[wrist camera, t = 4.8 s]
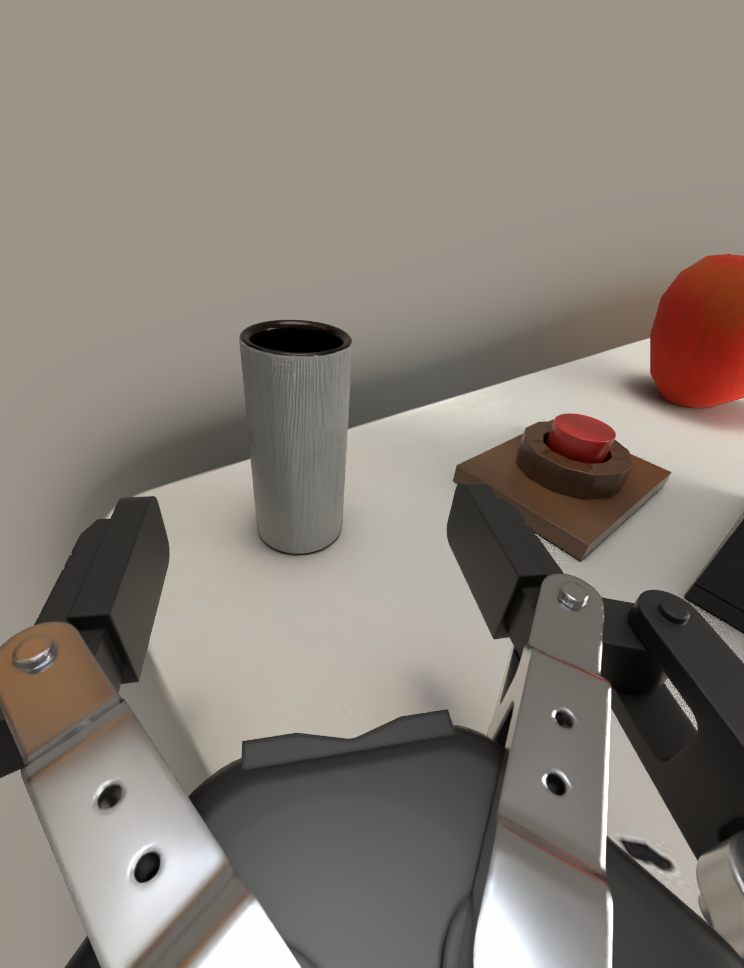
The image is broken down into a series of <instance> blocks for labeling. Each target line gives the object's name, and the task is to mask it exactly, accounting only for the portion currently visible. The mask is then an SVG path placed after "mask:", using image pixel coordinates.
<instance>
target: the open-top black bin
mask: <svg viewBox="0 0 744 968" xmlns="http://www.w3.org/2000/svg"><path fill="white" fill-rule="evenodd" d="M685 598H687V599H689V600H690V601H692V602H694V603H695V604H697V605H699V606H700V607H702V608H704V609H705V610H707V611H709V612H710V613H712V614H714V615H716V616H717V617H719V618H721V619H722V620H724V621H726V622H727V623H729V624H731V625H732V626H734V627H736V628H737V629H739V630H741V631H742V632H744V513H743V514H742V516H741V517H740V519H739V520H738V521H737V523H736V524H735V526H734V527H733V528H732V530H731V531H730V533H729V534H728V535H727V537H726V538H725V540H724V541H723V542H722V544H721V545H720V547H719V548H718V549H717V551H716V552H715V554H714V555H713V556H712V558H711V559H710V561H709V562H708V563H707V565H706V566H705V568H704V569H703V570H702V572H701V573H700V575H699V576H698V577H697V579H696V580H695V582H694V583H693V584H692V586H691V587H690V589H689V590H688V591H687V593H686V594H685Z"/></svg>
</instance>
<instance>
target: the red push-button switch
mask: <svg viewBox="0 0 744 968" xmlns="http://www.w3.org/2000/svg"><path fill="white" fill-rule="evenodd" d="M553 422H554V420H551V421H549V422H538V423H536V424H533V425H531V426H529V427H527V428H525V431H524V433H523V434H521V435H519V436H517V437H515V438H513V439H511V440H509V441H507V442H505V443H503V444H500V445H498V446H496V447H494V448H492V449H490V450H488V451H486V452H484V453H482V454H480V455H478V456H475V457H473V458H471V459H469V460H467V461H465V462H463V463H461V464H459V465H457V466H456V471H455V475H454V479H453V480H454V481H455V482H457V483H458V484H459V483H473V482H486V483H487V484H488V485H489V487H490V488H491V490H492V491H493V493H494V494H495V496H496V497H497V498H498V499H501V498H503V499H505V500H506V501H507V502H509V503H510V504H512V505H513V506H514V507H516V508H517V509H518V510H519V511H520V513H521V514H522V516H523V517H524V518H525V520H526V521H527V525H530V527H531V528H532V530H533V531H534V532H536V533H537V534H539V535H541V536H542V537H544V538H545V539H547V540H548V541H550V542H552V543H553V544H555V545H556V546H558V547H560V548H561V549H563V550H564V551H566V552H567V553H569V554H571V555H572V556H574V557H575V558H577V559H579V560H582V559H583V558H584V557H585V556H587V555H588V554H589V553H590V552H591V551H592V550H593V549H594V548H595V547H596V546H598V545H599V544H600V543H601V542H602V541H603V540H604V539H605V538H606V537H608V536H609V535H610V534H611V533H612V532H613V531H614V530H615V529H616V528H618V527H619V526H620V525H621V524H622V523H623V522H624V521H625V520H626V519H627V518H629V517H630V516H631V515H632V514H633V513H634V512H635V511H636V510H637V509H639V508H640V507H641V506H642V505H643V504H644V503H645V502H646V501H647V500H648V499H650V498H651V497H652V496H653V495H654V494H655V493H656V492H657V491H658V490H660V489H661V488H662V487H663V486H664V484H665V483H666V481H667V479H668V478H669V476H670V474H671V472H670V471H667V470H665V469H663V468H661V467H658V466H656V465H654V464H652V463H650V462H647V461H645V460H643V459H641V458H638V457H636V456H634V455H632V454H630V452H629V451H628V450H627V449H626V448H625V447H623V446H622V445H621V444H620V443H618V442H617V441H616V440H615V439H614V441H613V443H612V445H611V447H610V450H609V452H608V454H607V456H606V458H605V460H604V462H602V463H595V464H586V463H582V462H578V461H573V460H569V459H567V458H565V457H563V456H561V455H559V454H557V453H555V452H553V451H552V450H551V449H550V448H549V447H548V446H547V445H546V441H547V438H548V436H549V433H550V430H551V428H552V425H553Z"/></svg>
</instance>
